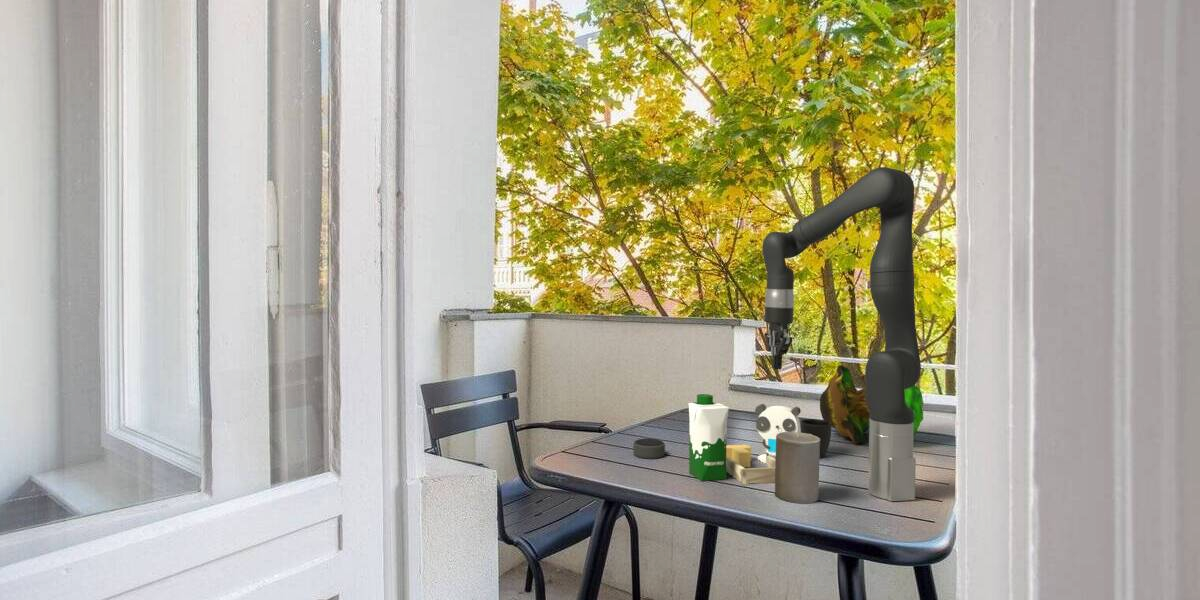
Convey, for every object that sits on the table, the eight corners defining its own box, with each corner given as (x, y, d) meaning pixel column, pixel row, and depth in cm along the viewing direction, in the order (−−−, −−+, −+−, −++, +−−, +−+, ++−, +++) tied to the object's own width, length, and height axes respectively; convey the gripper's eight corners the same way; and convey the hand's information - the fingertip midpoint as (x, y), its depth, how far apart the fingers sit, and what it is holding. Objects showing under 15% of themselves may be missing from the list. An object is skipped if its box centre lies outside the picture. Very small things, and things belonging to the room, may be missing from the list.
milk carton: (715, 469, 158) (716, 393, 158) (732, 480, 150) (733, 399, 149) (684, 472, 156) (685, 394, 156) (699, 483, 147) (700, 400, 147)
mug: (815, 447, 181) (816, 416, 181) (836, 459, 169) (836, 425, 169) (789, 448, 180) (789, 416, 180) (808, 459, 168) (808, 425, 168)
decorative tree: (836, 462, 202) (936, 451, 190) (820, 444, 181) (931, 430, 168) (822, 384, 215) (914, 369, 202) (805, 359, 193) (907, 340, 181)
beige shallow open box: (788, 482, 149) (789, 467, 149) (742, 484, 147) (742, 469, 147) (769, 469, 159) (769, 455, 159) (725, 471, 157) (726, 457, 157)
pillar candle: (766, 495, 139) (767, 430, 138) (787, 486, 145) (789, 424, 145) (806, 507, 132) (808, 439, 131) (826, 496, 138) (828, 431, 138)
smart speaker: (640, 461, 166) (640, 446, 166) (628, 452, 175) (628, 439, 174) (669, 458, 169) (670, 444, 169) (657, 450, 177) (657, 436, 177)
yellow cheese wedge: (758, 467, 161) (759, 452, 161) (730, 468, 159) (730, 453, 159) (746, 459, 169) (746, 444, 169) (719, 460, 167) (719, 445, 167)
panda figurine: (750, 462, 165) (751, 407, 165) (760, 452, 175) (761, 400, 175) (796, 468, 160) (797, 412, 159) (803, 458, 170) (804, 404, 169)
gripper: (803, 307, 160) (801, 372, 160) (781, 304, 173) (778, 365, 173) (777, 307, 158) (774, 372, 159) (756, 304, 172) (753, 365, 172)
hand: (776, 368), depth 166 cm, fingers closed
